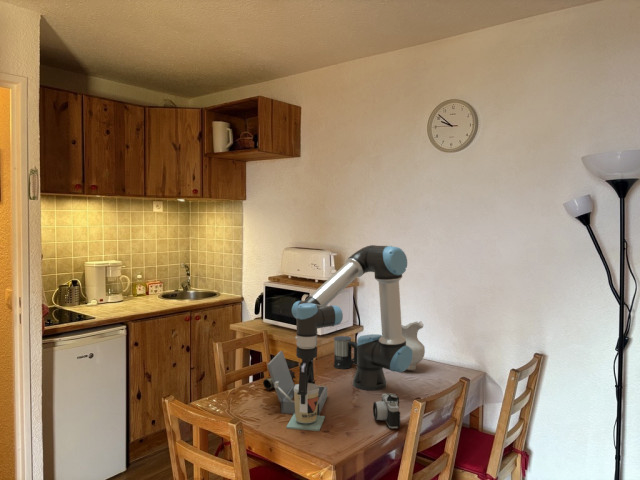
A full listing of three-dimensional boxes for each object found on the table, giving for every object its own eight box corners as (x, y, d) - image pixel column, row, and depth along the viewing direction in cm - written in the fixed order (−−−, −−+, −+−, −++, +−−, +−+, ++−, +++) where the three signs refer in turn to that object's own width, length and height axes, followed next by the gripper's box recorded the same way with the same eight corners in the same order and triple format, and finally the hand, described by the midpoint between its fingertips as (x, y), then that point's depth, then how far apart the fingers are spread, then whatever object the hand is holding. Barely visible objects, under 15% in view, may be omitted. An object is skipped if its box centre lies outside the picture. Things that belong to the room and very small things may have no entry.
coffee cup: (299, 426, 168) (300, 392, 167) (289, 416, 176) (289, 384, 176) (323, 421, 172) (323, 388, 172) (311, 412, 180) (312, 381, 180)
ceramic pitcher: (377, 369, 238) (377, 320, 237) (387, 359, 256) (387, 314, 255) (420, 375, 230) (421, 324, 229) (427, 364, 248) (428, 317, 247)
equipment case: (327, 397, 200) (327, 353, 200) (318, 416, 180) (319, 367, 179) (279, 393, 204) (280, 350, 203) (266, 412, 184) (266, 364, 183)
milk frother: (331, 368, 240) (331, 339, 240) (338, 359, 256) (338, 332, 255) (359, 370, 237) (359, 341, 236) (364, 361, 252) (364, 334, 252)
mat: (324, 417, 179) (324, 415, 179) (319, 431, 167) (319, 429, 167) (293, 415, 181) (293, 413, 181) (286, 428, 169) (286, 426, 169)
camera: (369, 412, 185) (370, 387, 184) (392, 411, 185) (392, 386, 185) (378, 429, 169) (378, 402, 169) (402, 428, 170) (403, 401, 170)
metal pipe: (271, 390, 205) (271, 377, 205) (259, 387, 210) (259, 374, 209) (297, 381, 220) (297, 368, 220) (286, 378, 224) (286, 366, 224)
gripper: (302, 338, 185) (302, 395, 185) (289, 353, 163) (289, 418, 164) (321, 339, 183) (321, 396, 184) (311, 355, 162) (310, 419, 163)
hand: (306, 406), depth 174 cm, fingers closed on coffee cup, 9 cm apart
